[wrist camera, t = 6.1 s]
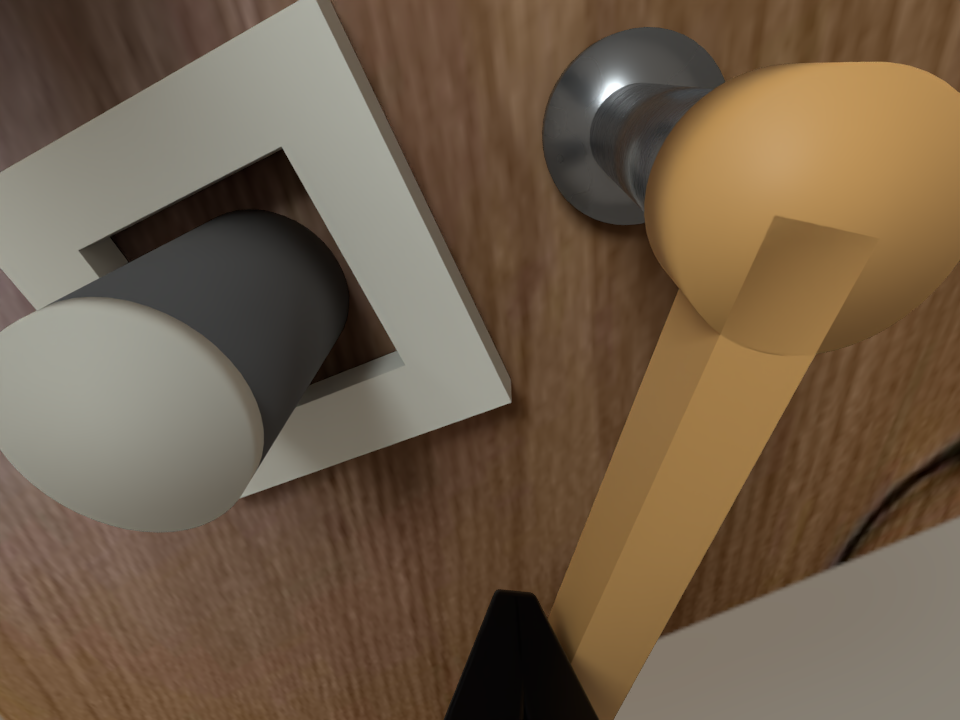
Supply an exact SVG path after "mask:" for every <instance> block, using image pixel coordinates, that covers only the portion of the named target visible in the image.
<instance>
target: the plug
mask: <svg viewBox="0 0 960 720" xmlns="http://www.w3.org/2000/svg"><path fill="white" fill-rule="evenodd" d="M348 309H349V295H348V288H347V283H346V280H345V277H344V274H343V271H342V269H341V267H340V265H339V263H338V261H337V260H336V258H335V256H334V255H333V253H332V252H331V251H330V249H329V248H328V247H327V246H326V245H325V243H324V242H323V241H322V240H321V239H320V238H318V237H317V236H316V235H315V234H314V233H313V232H312V231H310V230H309V229H308V228H306V227H305V226H303V225H301V224H300V223H298V222H296V221H295V220H292V219H290V218H288V217H286V216H283V215H280V214H277V213H274V212H269V211H264V210H251V209H248V210H238V211H233V212H229V213H226V214H223V215H221V216H218V217H216V218H215V219H213V220H211V221H209V222H207V223H205V224H203V225H201V226H199V227H197V228H195V229H193V230H191V231H189V232H187V233H186V234H184V235H182V236H180V237H178V238H176V239H174V240H172V241H170V242H168V243H166V244H164V245H162V246H160V247H159V248H157V249H155V250H153V251H151V252H149V253H147V254H145V255H143V256H141V257H139V258H137V259H135V260H133V261H132V262H130V263H128V264H126V265H124V266H122V267H120V268H118V269H116V270H114V271H112V272H110V273H108V274H106V275H104V276H103V277H101V278H99V279H97V280H95V281H93V282H91V283H89V284H87V285H85V286H83V287H81V288H79V289H77V290H76V291H74V292H72V293H70V294H68V295H66V296H64V297H62V298H60V299H58V300H56V301H54V302H52V303H50V304H49V305H47V306H45V307H43V308H41V309H39V310H37V311H35V312H33V313H31V314H29V315H27V316H25V317H23V318H21V319H20V320H18V321H16V322H14V323H13V324H11V325H9V326H8V327H6V328H5V329H4V330H3V331H1V332H0V450H1V451H2V453H3V454H4V455H5V457H6V458H7V459H8V460H9V462H10V463H11V464H12V465H13V466H14V467H15V468H16V469H17V470H18V471H19V472H20V473H21V474H22V475H23V476H24V477H25V478H26V479H27V480H28V481H30V482H31V483H32V484H33V485H34V486H35V487H37V488H38V489H39V490H41V491H42V492H43V493H45V494H46V495H47V496H49V497H51V498H52V499H54V500H55V501H57V502H58V503H60V504H62V505H63V506H65V507H67V508H69V509H71V510H73V511H75V512H77V513H79V514H81V515H84V516H86V517H88V518H91V519H93V520H96V521H99V522H102V523H105V524H108V525H111V526H115V527H119V528H123V529H128V530H135V531H142V532H175V531H182V530H188V529H191V528H195V527H199V526H202V525H204V524H206V523H209V522H211V521H213V520H215V519H216V518H218V517H220V516H221V515H223V514H224V513H225V512H227V511H228V510H229V509H230V508H231V507H232V506H233V505H234V504H235V503H236V502H237V501H238V499H239V498H240V497H241V495H242V494H243V492H244V490H245V489H246V487H247V486H248V484H249V482H250V481H251V479H252V477H253V476H254V474H255V473H256V471H257V469H258V468H259V466H260V464H261V463H262V461H263V459H264V458H265V456H266V455H267V453H268V451H269V450H270V448H271V446H272V445H273V443H274V442H275V440H276V438H277V437H278V435H279V433H280V432H281V430H282V429H283V427H284V425H285V424H286V422H287V420H288V419H289V417H290V415H291V414H292V412H293V411H294V409H295V407H296V406H297V404H298V402H299V401H300V399H301V398H302V396H303V394H304V393H305V391H306V389H307V388H308V386H309V385H310V383H311V381H312V380H313V378H314V376H315V375H316V373H317V371H318V370H319V368H320V367H321V365H322V363H323V362H324V360H325V358H326V357H327V355H328V354H329V352H330V350H331V349H332V347H333V345H334V344H335V342H336V341H337V339H338V337H339V336H340V334H341V332H342V330H343V328H344V325H345V323H346V320H347V315H348Z"/></svg>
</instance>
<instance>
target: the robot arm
mask: <svg viewBox="0 0 960 720" xmlns="http://www.w3.org/2000/svg"><path fill="white" fill-rule="evenodd" d="M444 720H599V718H598V716H597V714H596V712H595V710H594V708H593V706H592V705H591V703H590V701H589V699H588V697H587V695H586V693H585V691H584V689H583V687H582V685H581V683H580V681H579V679H578V677H577V675H576V673H575V671H574V669H573V667H572V666H571V664H570V662H569V660H568V658H567V656H566V654H565V652H564V650H563V648H562V646H561V644H560V642H559V640H558V638H557V636H556V634H555V632H554V630H553V628H552V627H551V625H550V623H549V621H548V619H547V617H546V615H545V613H544V611H543V609H542V607H541V605H540V603H539V601H538V599H537V598H536V596H535V595H534V594H533V593H530V592H521V591H511V590H501V589H498V590H496V591H495V593H494V595H493V597H492V600H491V602H490V605H489V607H488V610H487V612H486V615H485V617H484V620H483V622H482V625H481V627H480V630H479V632H478V635H477V637H476V640H475V642H474V645H473V647H472V650H471V652H470V655H469V657H468V660H467V662H466V665H465V667H464V670H463V672H462V675H461V677H460V680H459V683H458V685H457V688H456V690H455V693H454V695H453V698H452V700H451V703H450V705H449V708H448V710H447V713H446V715H445V718H444Z"/></svg>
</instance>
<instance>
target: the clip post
mask: <svg viewBox="0 0 960 720" xmlns="http://www.w3.org/2000/svg"><path fill="white" fill-rule="evenodd" d="M723 83H725V80H724V78H723V76H722V74H721V71H720V69H719V68H718V66H717V64H716V63H715V61H714V60H713V58H712V57H711V56H710V55H709V54H708V53H707V52H706V50H705V49H704V48H702V47H701V46H700V45H699V44H697V43H696V42H695V41H694V40H692V39H690V38H688V37H687V36H685V35H683V34H680V33H677V32H675V31H672V30H668V29H663V28H653V27H643V28H634V29H629V30H625V31H621V32H618V33H615V34H612V35H610V36H607V37H605V38H603V39H601V40H599V41H597V42H596V43H594V44H592V45H591V46H589V47H588V48H587V49H585V50H584V51H583V52H581V53H580V54H579V55H578V56H577V57H576V58H575V59H574V60H573V61H572V62H571V63H570V64H569V65H568V67H567V68H566V69H565V70H564V72H563V73H562V75H561V76H560V78H559V79H558V81H557V83H556V84H555V86H554V88H553V90H552V93H551V95H550V97H549V100H548V103H547V106H546V110H545V114H544V119H543V129H542V143H543V151H544V157H545V160H546V164H547V167H548V169H549V172H550V174H551V176H552V178H553V181H554V183H555V184H556V186H557V187H558V189H559V191H560V192H561V193H562V195H563V196H564V197H565V198H566V199H567V201H568V202H569V203H571V204H572V205H573V206H574V207H575V208H576V209H578V210H579V211H581V212H582V213H584V214H585V215H587V216H589V217H591V218H593V219H596V220H599V221H602V222H605V223H610V224H617V225H633V224H641V223H645V218H644V201H645V194H646V187H647V183H648V179H649V175H650V172H651V169H652V166H653V164H654V161H655V159H656V156H657V154H658V152H659V150H660V148H661V147H662V145H663V143H664V141H665V139H666V138H667V136H668V135H669V133H670V132H671V131H672V129H673V128H674V126H675V125H676V124H677V122H678V121H679V120H680V119H681V118H682V117H683V116H684V114H685V113H686V112H687V111H688V110H689V109H690V108H691V107H692V106H693V105H695V104H696V103H697V102H698V101H699V100H700V99H701V98H702V97H704V96H705V95H706V94H708V93H709V92H711V91H712V90H713V89H715V88H716V87H718V86H719V85H721V84H723Z"/></svg>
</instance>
